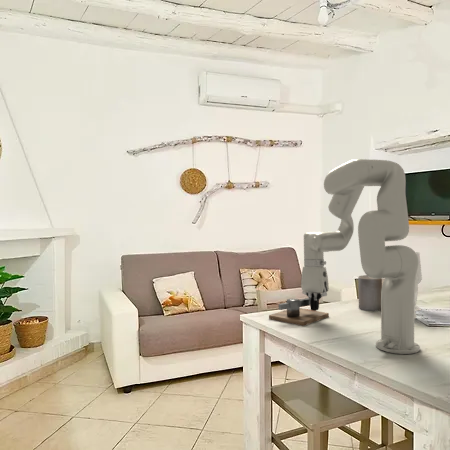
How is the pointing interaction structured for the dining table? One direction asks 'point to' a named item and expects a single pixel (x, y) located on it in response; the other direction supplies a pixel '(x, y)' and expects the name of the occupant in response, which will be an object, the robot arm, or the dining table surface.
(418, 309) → the champagne flute
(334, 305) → the dining table surface
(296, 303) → the capstan
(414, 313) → the beer glass
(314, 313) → the dial stand
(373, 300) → the pillar candle
